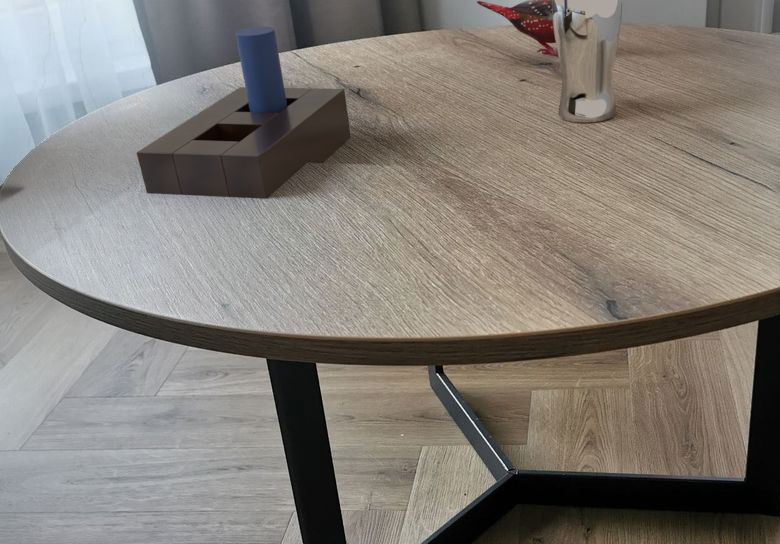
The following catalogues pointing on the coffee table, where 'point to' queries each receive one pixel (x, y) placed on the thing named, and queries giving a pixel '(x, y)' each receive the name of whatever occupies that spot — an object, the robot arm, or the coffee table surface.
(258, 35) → the blue peg
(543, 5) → the decorative bird figurine
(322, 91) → the peg rack
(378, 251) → the coffee table surface
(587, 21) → the beer glass
